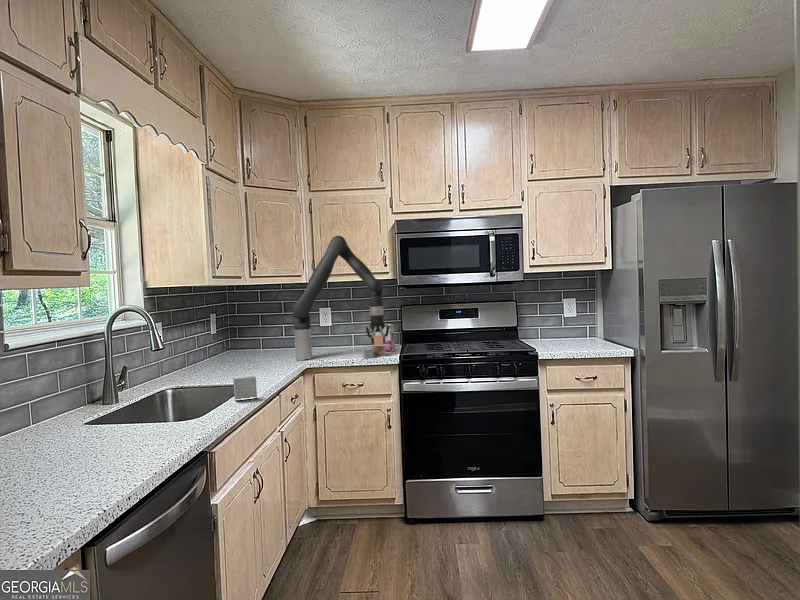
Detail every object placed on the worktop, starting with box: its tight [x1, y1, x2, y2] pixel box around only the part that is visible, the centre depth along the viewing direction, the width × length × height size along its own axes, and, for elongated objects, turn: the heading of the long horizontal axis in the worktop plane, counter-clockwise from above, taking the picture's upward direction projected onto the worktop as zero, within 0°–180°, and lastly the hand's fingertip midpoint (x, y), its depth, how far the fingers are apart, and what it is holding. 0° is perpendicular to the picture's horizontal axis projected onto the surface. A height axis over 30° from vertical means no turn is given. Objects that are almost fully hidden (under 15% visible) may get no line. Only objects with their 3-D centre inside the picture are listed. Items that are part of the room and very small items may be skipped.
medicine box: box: [232, 374, 258, 400], centre depth 208 cm, size 8×4×9 cm, turn 113°
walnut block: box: [371, 346, 386, 357], centre depth 311 cm, size 7×7×5 cm
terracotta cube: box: [373, 335, 383, 347], centre depth 311 cm, size 5×5×5 cm
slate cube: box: [361, 348, 375, 360], centre depth 303 cm, size 5×5×5 cm
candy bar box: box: [374, 323, 396, 353], centre depth 328 cm, size 11×5×16 cm, turn 62°
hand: (378, 344), depth 311 cm, fingers closed on terracotta cube, 5 cm apart
